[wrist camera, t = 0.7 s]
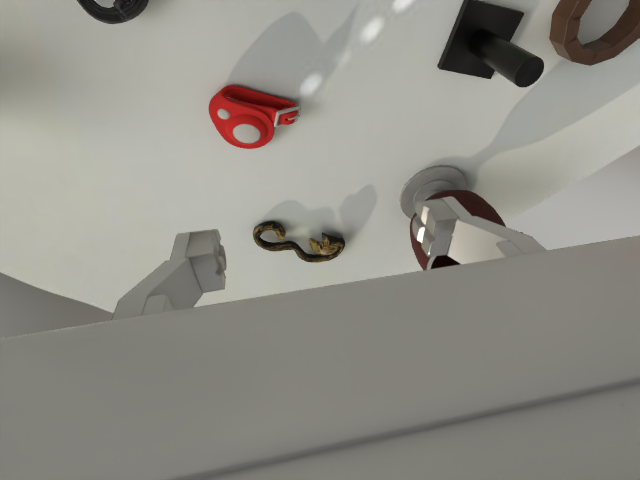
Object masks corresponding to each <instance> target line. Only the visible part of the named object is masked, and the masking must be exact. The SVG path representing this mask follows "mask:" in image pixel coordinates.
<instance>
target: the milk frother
mask: <svg viewBox="0 0 640 480" xmlns="http://www.w3.org/2000/svg"><path fill="white" fill-rule="evenodd" d="M77 1H78V2H79V4H80V5H81V6H82V7H83V9H84V10H85V11H86V12H87V13H88V14H89V15H91V16H92V17H94V18H95V19H97V20H99V21H101V22H104V23H108V24H117V23H123V22H126V21H129V20H131V19H133V18H135V17H136V16H138V15H139V14H140V13H141V12H142V11H143V10H144V9H145V7H146V6H147V3H148V0H132V1H131V0H115V2H114V3H113V4H114V7H111V8H105V7H102V6H100V5H98V4H97V3H96V2H95V1H94V0H77Z"/></svg>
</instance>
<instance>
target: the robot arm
mask: <svg viewBox="0 0 640 480" xmlns="http://www.w3.org/2000/svg"><path fill="white" fill-rule="evenodd" d="M414 211H415V212H416V214H417V215H416V216H415V217H414V219H413V222H412V230H413V234H414V237H415V238H416V240H417V241H419V242H421V243H422V246H421V247H422V249H423V250H424V252H425V253H426V255H427V256H428V257H433V256H441V255H447V256H449V257H451V258H452V259H454V260H455V261H457V262H459V263H460V265H454V266H448V267H441V268H435V269H429V270H423V271H417V272H411V273H404V274H398V275H392V276H386V277H380V278H373V279H367V280H361V281H355V282H349V283H342V284H336V285H330V286H324V287H318V288H311V289H305V290H299V291H293V292H287V293H280V294H274V295H268V296H262V297H256V298H249V299H243V300H237V301H231V302H225V303H218V304H212V305H206V306H200V307H194V305H195V304H196V303H197V301H198V300H199V299H200V297H201V296H202V295H203V294H202V293H206V292H211V291H217V290H222V289H225V279H226V277H225V273H224V271H225V270H226V256H225V251H224V247H223V246H222V245H221V244H220V240H221V237H220V234H219V231H218V229H212V230H203V231H194V232H186V233H179V234H177V235H176V238H175V242H174V245H173V249H172V253H171V257H170V260H168V261H165V262H164V263H163V264H161V265H160V266H159V267H158V268H157V269H155V270H154V271H153V272H152V273H151V274H149V275H148V276H147V277H146V278H145V279H143V280H142V281H141V282H140V283H139V284H138V285H136V286H135V287H134V288H133V289H132V290H130V291H129V292H128V293H127V294H126V295H124V296H123V297H122V298H121V299H120V300H119V301H118V304H117V306H116V309H115V311H114V314H113V316H112V319H111V321H107V322H102V323H95V324H89V325H82V326H76V327H70V328H64V329H58V330H52V331H45V332H39V333H33V334H27V335H20V336H13V337H6V338H0V480H640V236H633V237H627V238H621V239H615V240H608V241H602V242H596V243H590V244H584V245H578V246H572V247H566V248H560V249H554V250H546V249H545V248H544V247H542V246H541V245H540V244H539V243H538V242H537V241H536V240H535V239H534V238H533V237H531V236H529V235H526V234H523V233H521V232H518V231H515V230H512V229H510V228H507V227H504V226H502V225H499V224H496V223H493V222H491V221H488V220H485V219H483V218H480V217H477V216H472V215H471V214H470V213H469V212H468V211H467V210H466V209H465V208H464V207H463V206H462V205H461V204H460V203H459V202H458V201H457V200H456V199H455V198H454V197H451V196H450V197H444V198H440V199H433V200H427V201H420V202H417V203H416V205H415V209H414ZM193 307H194V308H193Z"/></svg>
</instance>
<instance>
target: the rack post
mask: <svg viewBox="0 0 640 480" xmlns="http://www.w3.org/2000/svg"><path fill="white" fill-rule="evenodd" d="M523 15H524V13H523V12H521V11H517V10H513V9H509V8H505V7H501V6H496V5H492V4H488V3H484V2H480V1H476V0H464V2H463V4H462V7H461V9H460V12H459V14H458V17H457V19H456V22H455V24H454V27H453V29H452V32H451V34H450V37H449V39H448V42H447V44H446V47H445V49H444V52H443V54H442V57H441V59H440V62H439V64H438V68H439V69H442V70H447V71H452V72H457V73H462V74H467V75H472V76H477V77H482V78H487V79H491V77H492V75H493V73H494V71H495V70H496V71H497V72H498V73H500V74H501V75H503V76H504V77H506V78H507V79H508V80H510V81H511V82H513V83H514V84H515V85H517V86H518V87H527V86H530V85H532V84H533V83H534V82H536V81H537V80H538V79H539V77H540V76H541V74H542V72H543V69H544V62H543V60H542V59H541V58H539V57H537V56H535V55H533V54H532V53H530V52H528V51H526V50H524V49H522V48H521V47H519V46H517V45H515V44H513V43H511V42H510V40H511V38H512V36H513V35H514V33H515V31H516V29H517V27H518V25H519V23H520V21H521V19H522V17H523Z"/></svg>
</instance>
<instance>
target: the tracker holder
mask: <svg viewBox="0 0 640 480" xmlns="http://www.w3.org/2000/svg"><path fill="white" fill-rule="evenodd" d="M226 97H229V98H226ZM230 98H233V99H237V100H241V101H245V102H241V101H236V100H233V99H230ZM246 102H249V103H246ZM251 103H253V104H251ZM256 104H257V105H256ZM300 109H301V107H300V106H296V105H295V104H294V103H292V102H291V101H288V100H285V99H282V98H278V97H274V96H271V95H267V94H264V93H260V92H257V91H253V90H250V89H247V88H243V87H240V86H235V85H229V86H226V87H224V88H223V89H222V90H221V91H219V92H218V93H217V94H216V95H215V96H214V97H213V98H212V99H211V101H210V104H209V114H210V117H211V119H212V121H213V123H214V125H215V126H216V128H217V130H218V131H219V133H220V134H221V136H222V137H223V138H224V139H225V140H226V141H227V142H228V143H230V144H232V145H234V146H237V147H240V148H246V149H252V148H258V147H261V146H264V145H265V144H267V143H268V142H269V141H270V140H271V139H272V137H273V135H274V127H278V126H281V125H289V124H292V123H294V122H296V121H297V119H298V117H300V115H299V113H300ZM273 123H274V124H273Z"/></svg>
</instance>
